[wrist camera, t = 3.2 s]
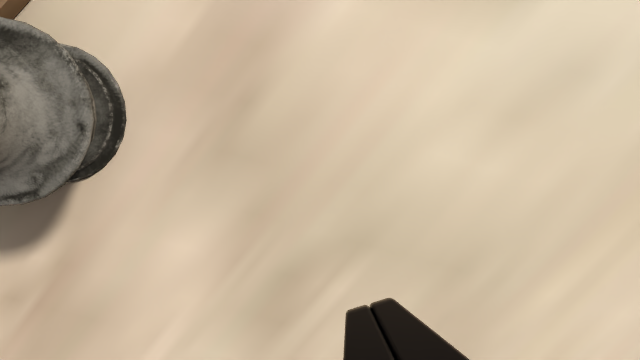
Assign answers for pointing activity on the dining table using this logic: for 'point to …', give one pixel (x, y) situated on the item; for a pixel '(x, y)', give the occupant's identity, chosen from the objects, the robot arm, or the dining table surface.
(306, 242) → the dining table surface
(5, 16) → the walnut board
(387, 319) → the robot arm
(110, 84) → the dark grey tall piece
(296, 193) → the dining table surface
